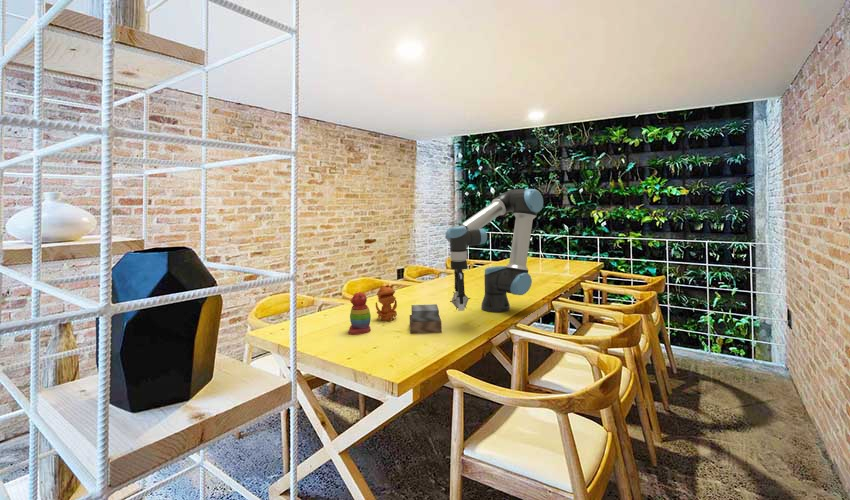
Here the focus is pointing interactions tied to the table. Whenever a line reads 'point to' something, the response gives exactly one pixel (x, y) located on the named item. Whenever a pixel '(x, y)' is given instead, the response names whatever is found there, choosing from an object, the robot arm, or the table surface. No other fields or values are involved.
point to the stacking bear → (359, 315)
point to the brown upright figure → (386, 303)
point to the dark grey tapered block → (425, 319)
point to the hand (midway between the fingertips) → (459, 307)
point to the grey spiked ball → (455, 300)
